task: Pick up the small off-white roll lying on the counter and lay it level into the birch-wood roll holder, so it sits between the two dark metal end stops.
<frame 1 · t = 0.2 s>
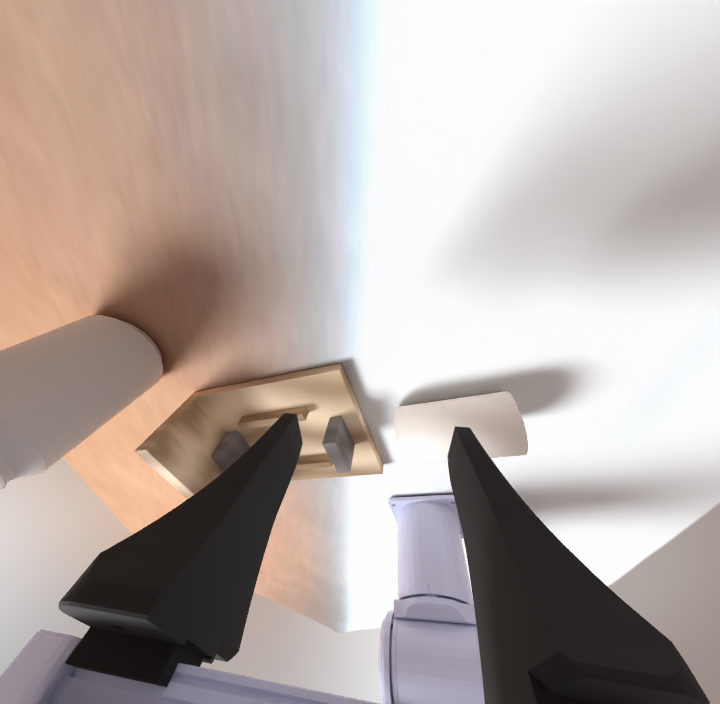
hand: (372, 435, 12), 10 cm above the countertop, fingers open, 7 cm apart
roll holder: (293, 430, 27), on the countertop
roll: (449, 408, 23), on the countertop
can: (132, 347, 24), on the countertop
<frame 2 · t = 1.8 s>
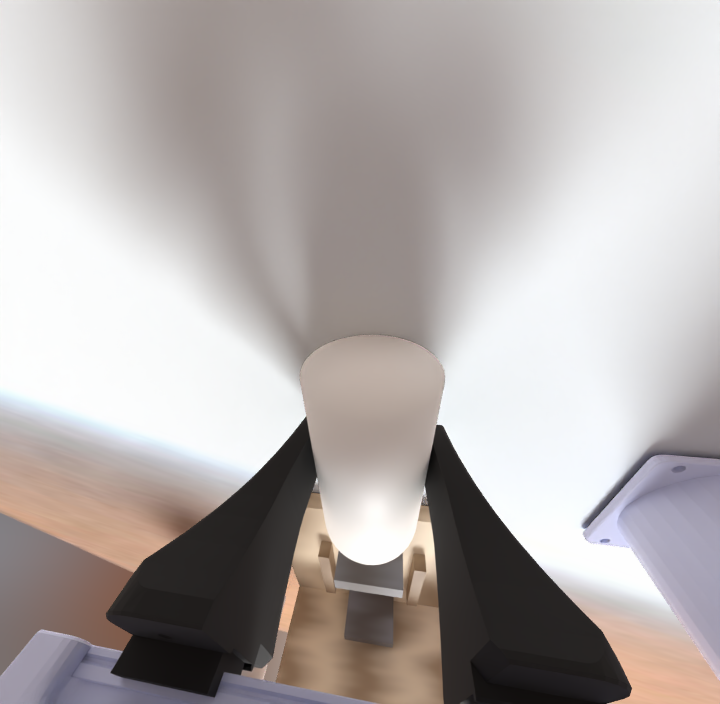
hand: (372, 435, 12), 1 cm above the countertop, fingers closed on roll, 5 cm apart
roll holder: (372, 552, 21), on the countertop
roll: (374, 412, 13), on the countertop, touching gripper
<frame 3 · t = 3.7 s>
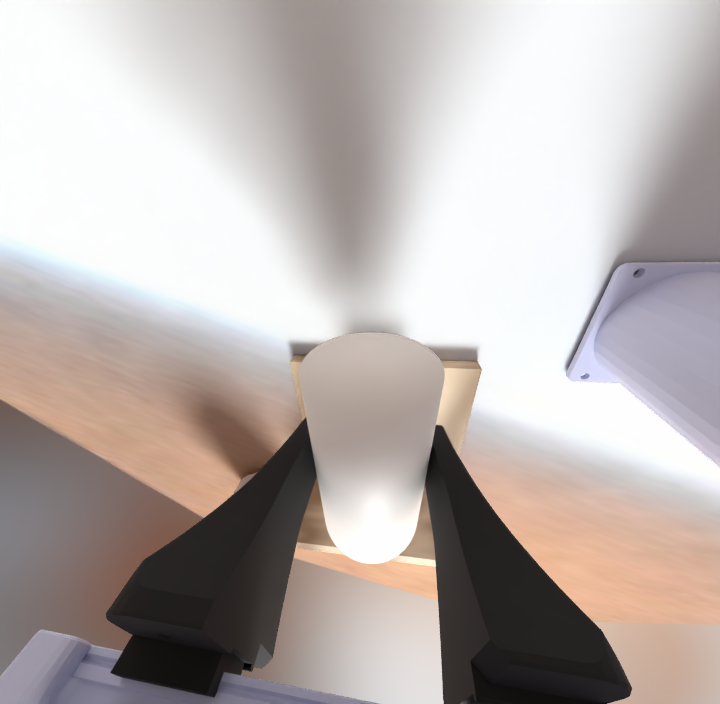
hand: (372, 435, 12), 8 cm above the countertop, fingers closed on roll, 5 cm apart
roll holder: (381, 430, 24), on the countertop
roll: (374, 411, 13), point 7 cm above the countertop, touching gripper
when the fingers open (4 cm above the countertop, at t = 5.6 s): roll drops 1 cm, resting on roll holder.
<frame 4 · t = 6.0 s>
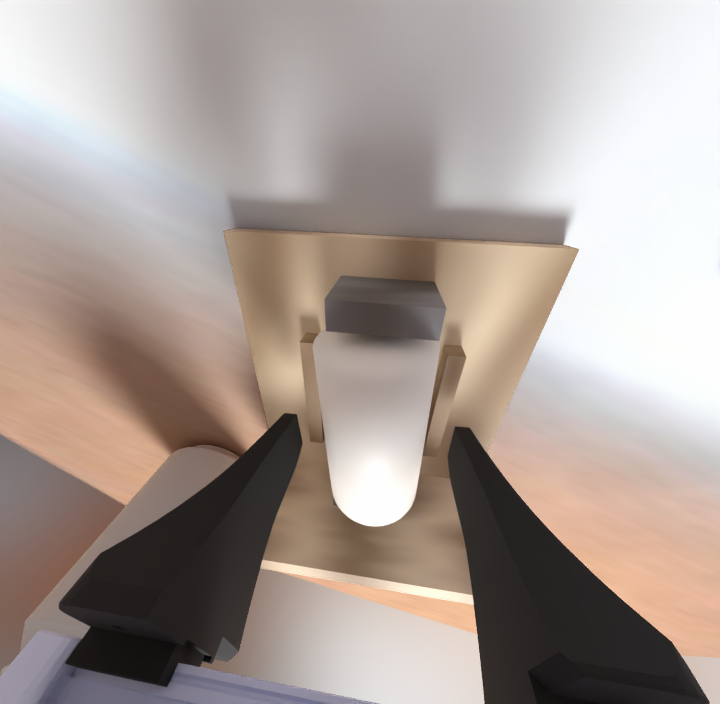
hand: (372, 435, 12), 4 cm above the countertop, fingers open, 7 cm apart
roll holder: (378, 382, 15), on the countertop
roll: (377, 391, 14), point 1 cm above the countertop, touching roll holder
can: (220, 465, 22), on the countertop
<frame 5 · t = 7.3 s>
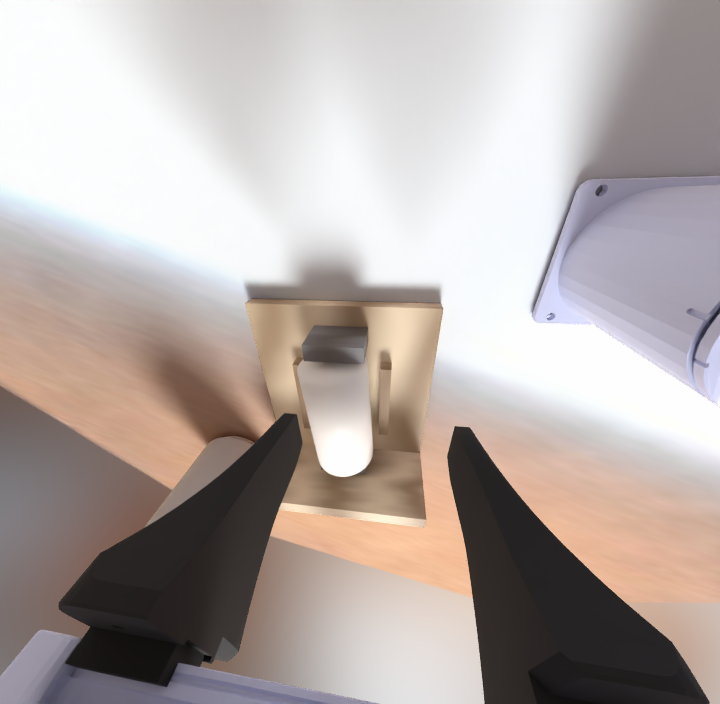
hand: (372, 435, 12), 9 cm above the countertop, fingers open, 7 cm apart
roll holder: (347, 386, 23), on the countertop
roll: (345, 392, 22), point 1 cm above the countertop, touching roll holder
can: (243, 451, 30), on the countertop
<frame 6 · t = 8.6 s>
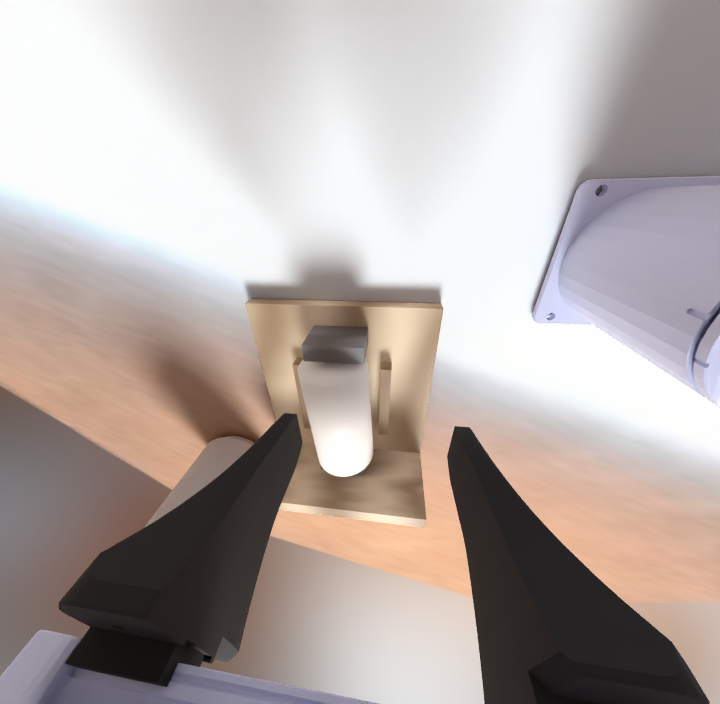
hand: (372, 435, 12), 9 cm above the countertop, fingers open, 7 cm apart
roll holder: (347, 386, 23), on the countertop
roll: (345, 392, 22), point 1 cm above the countertop, touching roll holder
can: (243, 451, 30), on the countertop
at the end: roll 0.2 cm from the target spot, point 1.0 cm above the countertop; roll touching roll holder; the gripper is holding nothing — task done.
